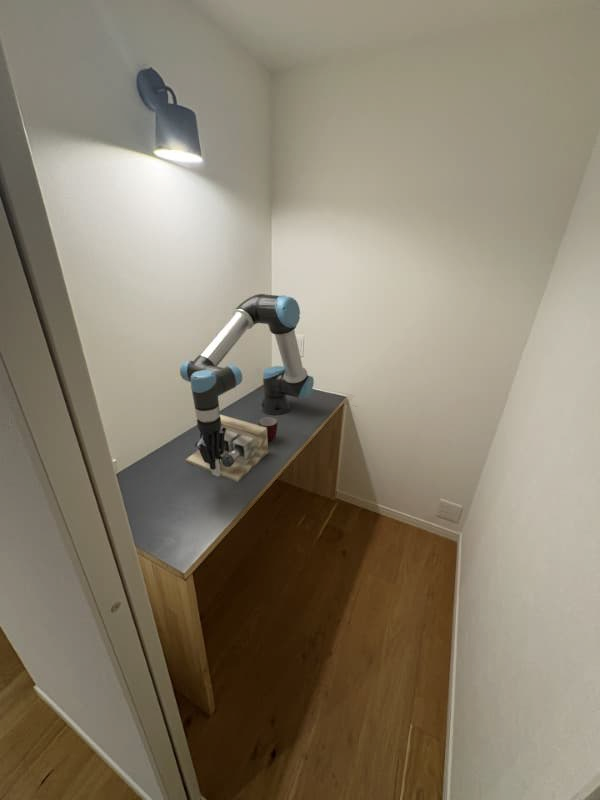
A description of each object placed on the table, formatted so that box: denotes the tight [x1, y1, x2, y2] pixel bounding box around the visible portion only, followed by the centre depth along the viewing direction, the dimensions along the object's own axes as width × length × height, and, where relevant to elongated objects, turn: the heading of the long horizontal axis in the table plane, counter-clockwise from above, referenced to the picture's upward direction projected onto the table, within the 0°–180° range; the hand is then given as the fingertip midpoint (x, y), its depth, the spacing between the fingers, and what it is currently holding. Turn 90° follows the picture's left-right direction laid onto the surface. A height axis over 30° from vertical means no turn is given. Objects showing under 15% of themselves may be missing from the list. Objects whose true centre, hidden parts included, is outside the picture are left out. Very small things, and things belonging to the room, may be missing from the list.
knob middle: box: [224, 441, 229, 451], centre depth 124 cm, size 9×5×5 cm, turn 153°
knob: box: [221, 446, 244, 467], centre depth 121 cm, size 9×5×5 cm, turn 153°
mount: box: [185, 414, 269, 482], centre depth 128 cm, size 21×26×12 cm
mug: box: [258, 416, 278, 444], centre depth 139 cm, size 10×8×10 cm
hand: (216, 474), depth 113 cm, fingers closed
